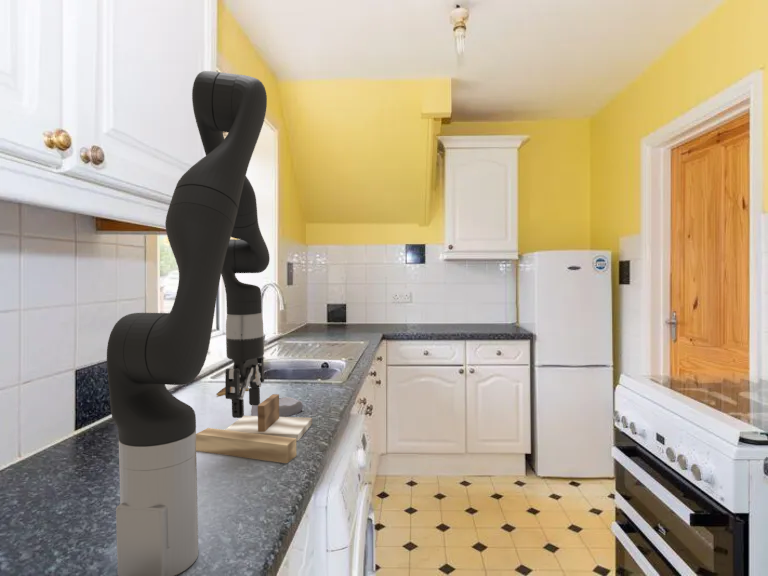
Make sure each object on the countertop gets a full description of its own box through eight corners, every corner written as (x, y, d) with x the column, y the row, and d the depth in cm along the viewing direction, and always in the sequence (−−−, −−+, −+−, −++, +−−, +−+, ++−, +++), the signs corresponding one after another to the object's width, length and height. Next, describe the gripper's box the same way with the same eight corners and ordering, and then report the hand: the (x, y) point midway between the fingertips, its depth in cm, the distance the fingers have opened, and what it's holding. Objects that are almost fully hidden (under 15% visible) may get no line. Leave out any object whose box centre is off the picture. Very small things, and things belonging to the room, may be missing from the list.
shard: (216, 398, 145) (216, 392, 145) (206, 393, 151) (206, 388, 151) (249, 392, 152) (249, 386, 152) (239, 387, 158) (239, 382, 158)
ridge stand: (298, 441, 107) (297, 408, 107) (222, 438, 110) (221, 405, 109) (312, 423, 119) (311, 394, 119) (243, 421, 121) (243, 392, 121)
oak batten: (286, 464, 95) (286, 445, 95) (196, 452, 102) (195, 433, 102) (296, 457, 99) (296, 438, 99) (208, 445, 106) (208, 427, 106)
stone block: (247, 423, 126) (271, 423, 120) (245, 405, 127) (269, 403, 121) (282, 413, 136) (306, 413, 130) (280, 396, 136) (304, 395, 130)
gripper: (248, 340, 92) (250, 422, 93) (274, 330, 106) (275, 401, 107) (211, 340, 93) (213, 421, 94) (242, 329, 107) (243, 400, 108)
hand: (246, 410), depth 100 cm, fingers open, 8 cm apart
